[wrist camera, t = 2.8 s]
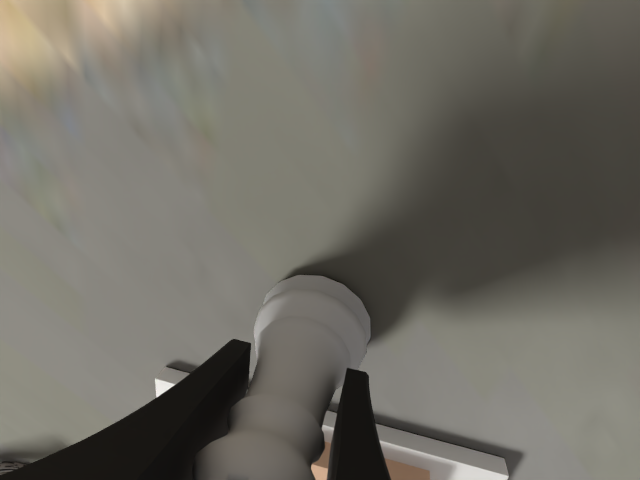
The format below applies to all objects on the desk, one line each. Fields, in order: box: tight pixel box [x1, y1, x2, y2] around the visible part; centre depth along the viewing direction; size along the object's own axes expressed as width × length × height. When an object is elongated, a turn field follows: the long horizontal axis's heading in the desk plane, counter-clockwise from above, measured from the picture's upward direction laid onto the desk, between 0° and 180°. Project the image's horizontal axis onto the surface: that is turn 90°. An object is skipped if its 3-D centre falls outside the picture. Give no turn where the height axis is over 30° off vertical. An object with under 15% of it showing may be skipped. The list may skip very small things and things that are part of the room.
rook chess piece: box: [192, 275, 371, 480], centre depth 12 cm, size 4×4×8 cm
